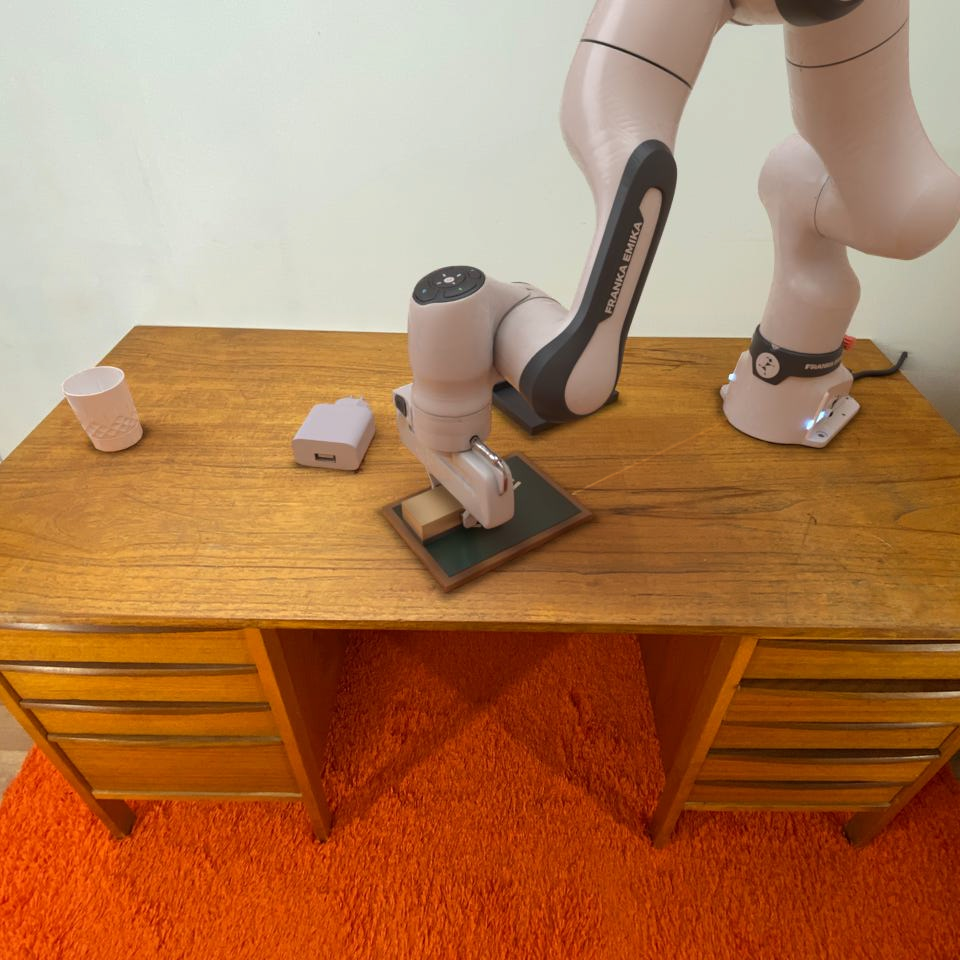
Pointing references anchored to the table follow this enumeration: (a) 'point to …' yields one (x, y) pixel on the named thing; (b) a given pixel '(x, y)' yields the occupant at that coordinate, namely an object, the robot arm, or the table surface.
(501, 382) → the tray
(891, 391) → the table surface
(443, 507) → the eraser
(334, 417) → the charger
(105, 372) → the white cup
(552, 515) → the board
